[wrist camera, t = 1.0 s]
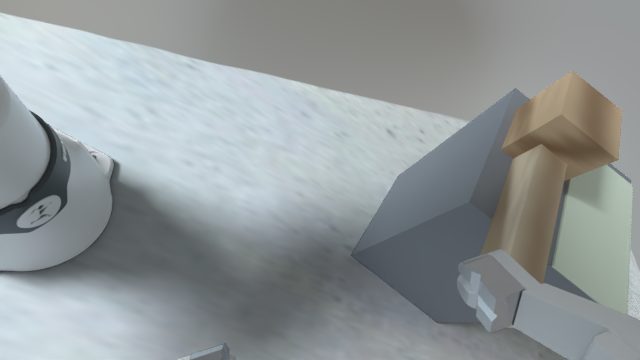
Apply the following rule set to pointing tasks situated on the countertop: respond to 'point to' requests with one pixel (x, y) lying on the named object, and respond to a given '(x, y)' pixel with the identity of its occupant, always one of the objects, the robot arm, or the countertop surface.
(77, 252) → the robot arm
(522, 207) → the mallet
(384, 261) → the stand
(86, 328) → the countertop surface
